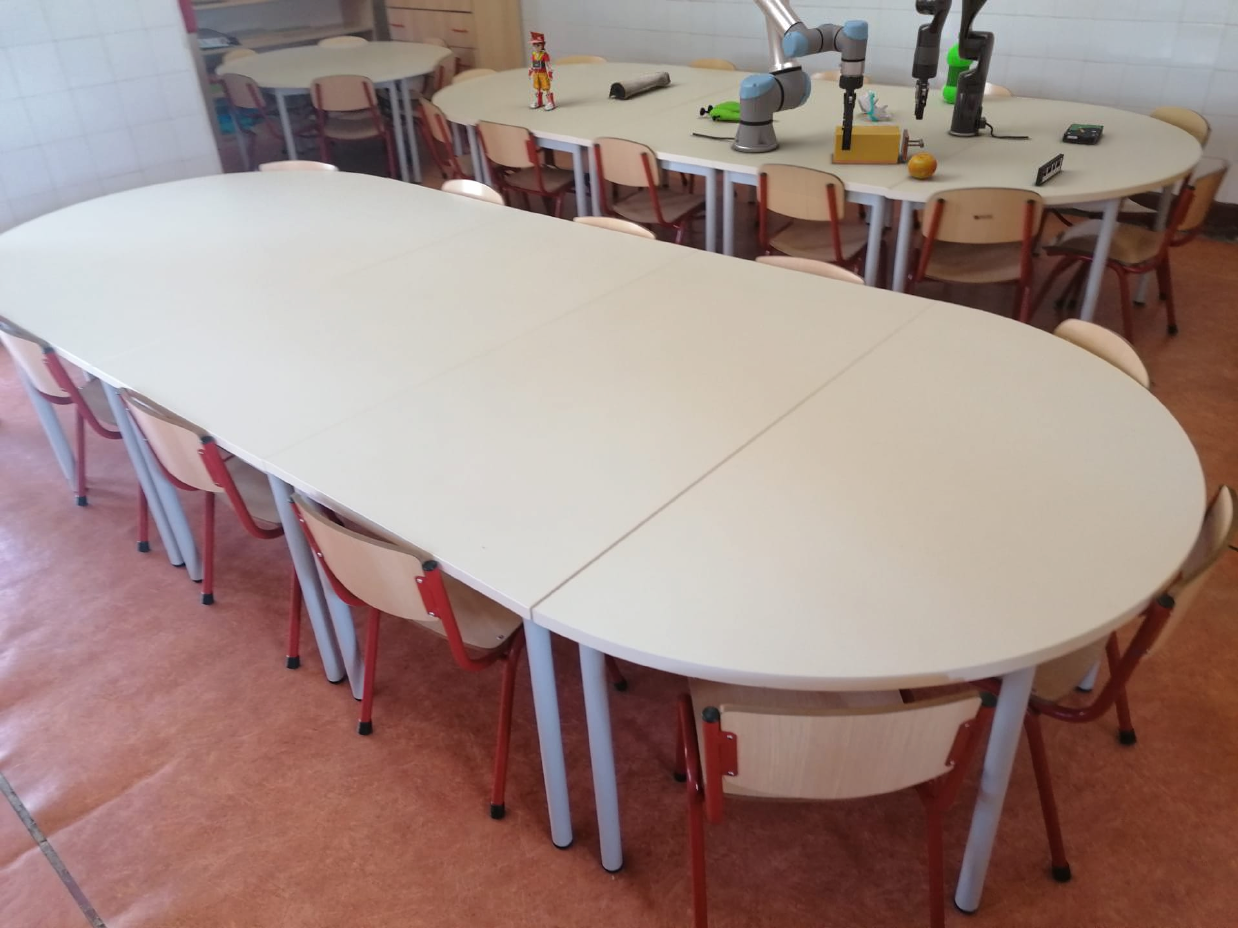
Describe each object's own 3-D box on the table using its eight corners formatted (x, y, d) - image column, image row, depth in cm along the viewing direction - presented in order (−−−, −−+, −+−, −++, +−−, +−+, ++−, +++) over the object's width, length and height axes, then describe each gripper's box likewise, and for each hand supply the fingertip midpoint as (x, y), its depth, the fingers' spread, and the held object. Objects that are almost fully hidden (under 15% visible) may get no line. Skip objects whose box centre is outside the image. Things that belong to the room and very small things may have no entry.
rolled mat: (651, 76, 408) (662, 61, 399) (662, 93, 408) (674, 79, 400) (605, 92, 391) (616, 77, 383) (617, 110, 391) (628, 95, 383)
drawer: (920, 152, 300) (923, 129, 296) (923, 160, 293) (926, 137, 289) (845, 151, 305) (848, 129, 300) (846, 160, 297) (848, 137, 293)
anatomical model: (852, 90, 344) (878, 82, 343) (855, 117, 350) (880, 110, 349) (864, 99, 332) (891, 92, 331) (867, 127, 338) (893, 120, 337)
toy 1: (525, 109, 381) (517, 32, 364) (534, 104, 388) (527, 28, 371) (550, 110, 377) (543, 32, 360) (559, 105, 384) (553, 28, 367)
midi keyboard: (1039, 185, 269) (1043, 168, 266) (1035, 184, 270) (1038, 168, 267) (1060, 170, 279) (1064, 154, 277) (1056, 169, 280) (1060, 153, 277)
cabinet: (895, 154, 303) (898, 126, 297) (897, 163, 294) (900, 134, 289) (833, 154, 306) (835, 126, 301) (833, 163, 298) (836, 134, 293)
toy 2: (690, 119, 348) (760, 132, 336) (691, 105, 346) (762, 118, 333) (721, 108, 369) (789, 120, 356) (723, 95, 366) (791, 106, 353)
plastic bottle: (973, 101, 354) (984, 32, 339) (955, 106, 349) (966, 36, 335) (952, 97, 361) (962, 29, 346) (934, 102, 356) (944, 33, 342)
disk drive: (1095, 145, 299) (1102, 133, 309) (1097, 137, 298) (1104, 125, 308) (1061, 142, 304) (1069, 130, 314) (1063, 134, 302) (1071, 122, 312)
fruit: (901, 168, 278) (918, 145, 275) (903, 171, 286) (919, 148, 282) (924, 184, 276) (941, 161, 273) (925, 186, 284) (942, 163, 281)
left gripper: (839, 67, 296) (833, 135, 309) (840, 83, 278) (834, 155, 290) (862, 66, 295) (856, 135, 308) (865, 82, 276) (858, 155, 289)
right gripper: (911, 56, 287) (904, 112, 296) (915, 66, 275) (907, 123, 285) (936, 56, 285) (928, 112, 295) (940, 65, 274) (932, 123, 284)
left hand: (845, 145), depth 299 cm, fingers closed on cabinet, 11 cm apart
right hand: (918, 117), depth 290 cm, fingers open, 4 cm apart
